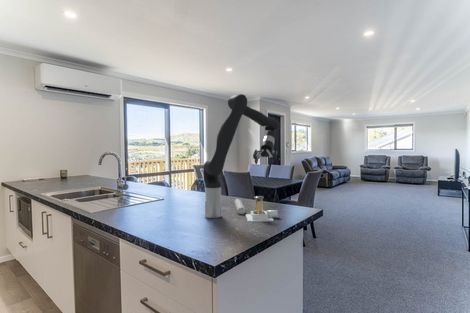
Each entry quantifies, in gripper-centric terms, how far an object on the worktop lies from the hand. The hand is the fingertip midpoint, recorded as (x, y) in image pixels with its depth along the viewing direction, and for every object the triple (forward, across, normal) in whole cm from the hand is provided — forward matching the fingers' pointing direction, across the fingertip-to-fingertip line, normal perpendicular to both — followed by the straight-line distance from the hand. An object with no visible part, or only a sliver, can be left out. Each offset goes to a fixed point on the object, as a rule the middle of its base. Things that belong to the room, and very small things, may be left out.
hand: (262, 163), depth 154 cm
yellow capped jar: (+26, 0, +16) cm, 31 cm away
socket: (+26, +1, +17) cm, 31 cm away
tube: (+17, -18, +27) cm, 36 cm away
